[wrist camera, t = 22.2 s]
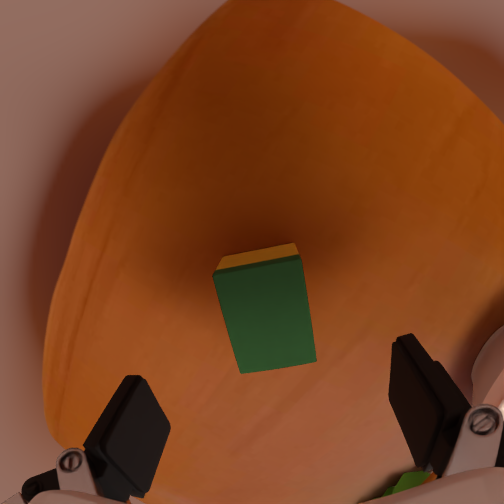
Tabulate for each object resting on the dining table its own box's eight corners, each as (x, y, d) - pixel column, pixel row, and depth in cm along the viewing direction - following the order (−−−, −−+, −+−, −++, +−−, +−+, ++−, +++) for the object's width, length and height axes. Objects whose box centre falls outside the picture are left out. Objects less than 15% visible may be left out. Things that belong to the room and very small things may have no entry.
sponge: (222, 256, 20) (211, 275, 16) (294, 242, 19) (301, 258, 16) (244, 342, 22) (240, 374, 18) (309, 331, 21) (316, 362, 17)
